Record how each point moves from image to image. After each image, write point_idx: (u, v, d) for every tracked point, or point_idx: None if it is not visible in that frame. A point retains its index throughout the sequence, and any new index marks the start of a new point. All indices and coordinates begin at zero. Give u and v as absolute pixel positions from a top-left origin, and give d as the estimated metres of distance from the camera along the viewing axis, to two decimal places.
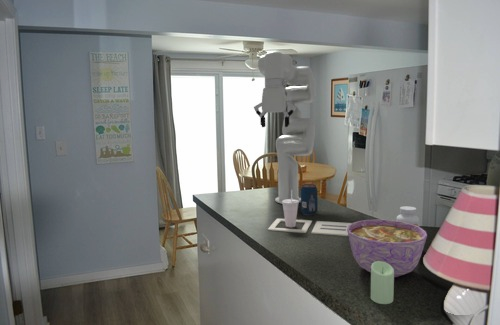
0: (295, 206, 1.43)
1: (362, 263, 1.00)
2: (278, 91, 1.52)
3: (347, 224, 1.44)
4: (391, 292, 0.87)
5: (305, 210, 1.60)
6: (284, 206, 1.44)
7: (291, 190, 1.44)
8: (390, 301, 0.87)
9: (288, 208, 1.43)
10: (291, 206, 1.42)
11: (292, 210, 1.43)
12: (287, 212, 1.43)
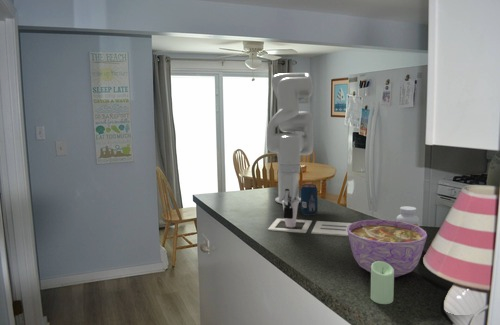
0: (295, 206, 1.43)
1: (362, 263, 1.00)
2: (297, 175, 1.45)
3: (347, 224, 1.44)
4: (391, 292, 0.87)
5: (305, 210, 1.60)
6: None
7: None
8: (390, 301, 0.87)
9: None
10: None
11: None
12: None
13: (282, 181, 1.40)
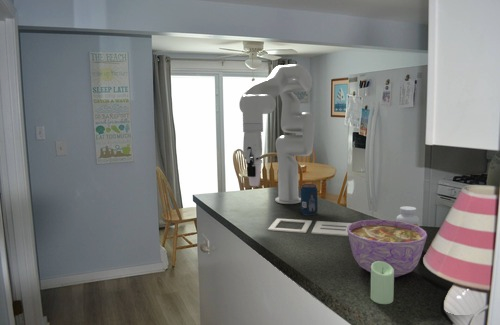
0: (258, 165, 1.45)
1: (362, 263, 1.00)
2: (260, 135, 1.47)
3: (347, 224, 1.44)
4: (391, 292, 0.87)
5: (305, 210, 1.60)
6: None
7: None
8: (390, 301, 0.87)
9: None
10: None
11: None
12: None
13: (244, 139, 1.42)
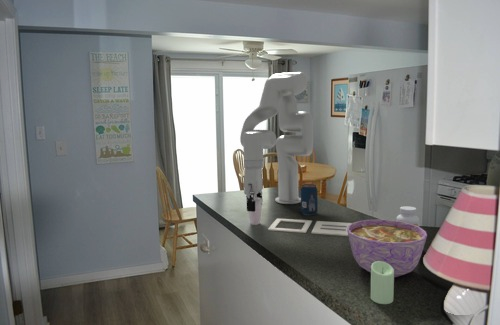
0: (259, 204, 1.47)
1: (362, 263, 1.00)
2: (261, 171, 1.49)
3: (347, 224, 1.44)
4: (391, 292, 0.87)
5: (305, 210, 1.60)
6: None
7: None
8: (390, 301, 0.87)
9: None
10: (255, 204, 1.46)
11: (256, 208, 1.47)
12: None
13: (245, 176, 1.44)
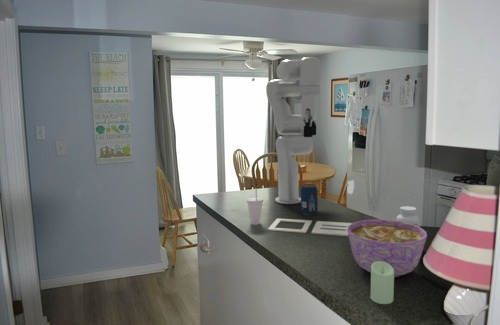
0: (259, 204, 1.47)
1: (362, 263, 1.00)
2: None
3: (347, 224, 1.44)
4: (391, 292, 0.87)
5: (305, 210, 1.60)
6: (249, 204, 1.48)
7: (255, 189, 1.48)
8: (390, 301, 0.87)
9: (252, 206, 1.47)
10: (255, 204, 1.46)
11: (256, 208, 1.47)
12: (251, 210, 1.48)
13: (303, 101, 1.43)
